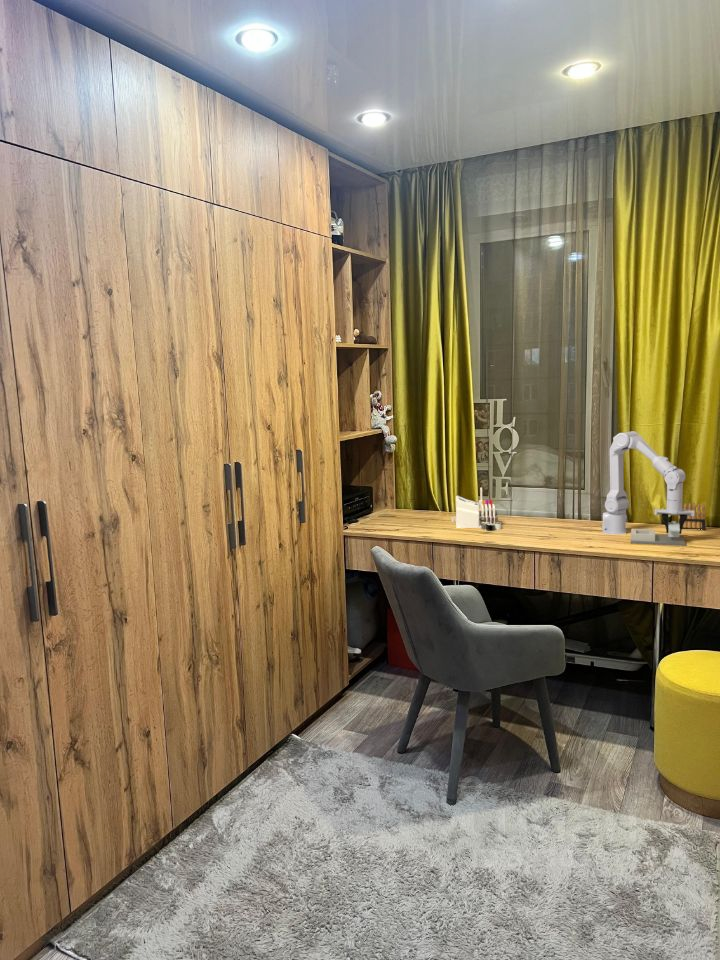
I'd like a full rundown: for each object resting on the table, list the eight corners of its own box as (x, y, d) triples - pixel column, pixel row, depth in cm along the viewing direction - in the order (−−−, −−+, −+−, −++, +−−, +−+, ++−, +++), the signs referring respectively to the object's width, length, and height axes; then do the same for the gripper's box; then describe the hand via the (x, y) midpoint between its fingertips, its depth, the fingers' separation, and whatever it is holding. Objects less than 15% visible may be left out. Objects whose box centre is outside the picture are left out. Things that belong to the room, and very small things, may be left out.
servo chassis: (630, 544, 277) (630, 535, 276) (631, 535, 291) (631, 527, 291) (685, 546, 269) (685, 538, 269) (683, 537, 284) (683, 529, 283)
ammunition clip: (678, 530, 298) (678, 502, 296) (677, 529, 300) (678, 502, 298) (705, 531, 294) (706, 503, 292) (705, 530, 296) (706, 502, 294)
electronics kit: (508, 533, 307) (508, 497, 305) (450, 533, 311) (449, 498, 309) (502, 513, 351) (501, 483, 349) (451, 514, 355) (450, 483, 353)
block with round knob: (668, 537, 274) (668, 524, 273) (667, 532, 283) (668, 519, 282) (679, 538, 272) (680, 525, 271) (678, 532, 282) (678, 519, 281)
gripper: (655, 500, 275) (654, 534, 277) (695, 501, 269) (694, 535, 271) (654, 497, 281) (653, 530, 283) (694, 498, 276) (693, 532, 278)
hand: (673, 532), depth 278 cm, fingers closed on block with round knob, 4 cm apart
